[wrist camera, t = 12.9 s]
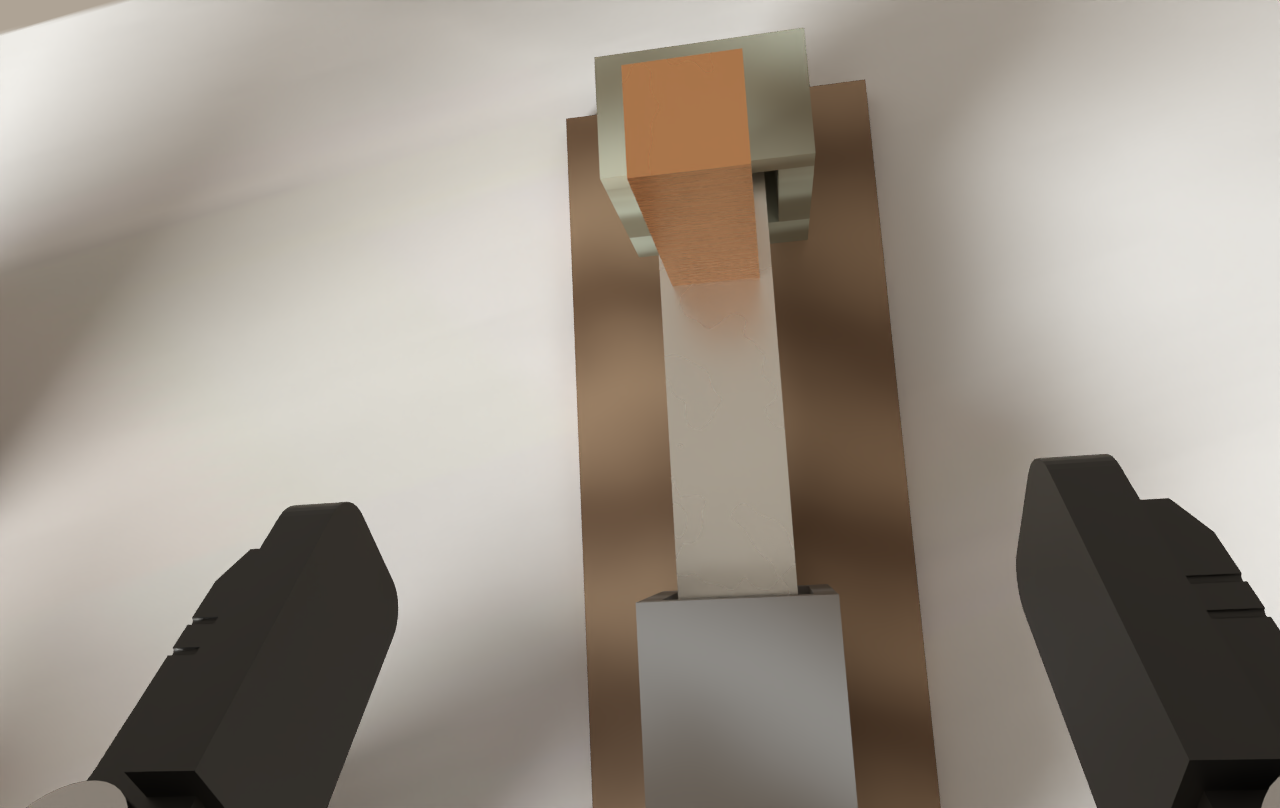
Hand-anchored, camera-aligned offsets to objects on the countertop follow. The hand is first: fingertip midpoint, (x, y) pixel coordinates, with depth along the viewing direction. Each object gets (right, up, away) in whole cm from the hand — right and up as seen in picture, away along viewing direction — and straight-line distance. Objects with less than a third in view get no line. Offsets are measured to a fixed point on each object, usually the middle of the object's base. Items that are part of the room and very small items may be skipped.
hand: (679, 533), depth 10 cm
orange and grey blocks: (+2, +1, +16) cm, 17 cm away
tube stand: (+3, -3, +19) cm, 20 cm away
